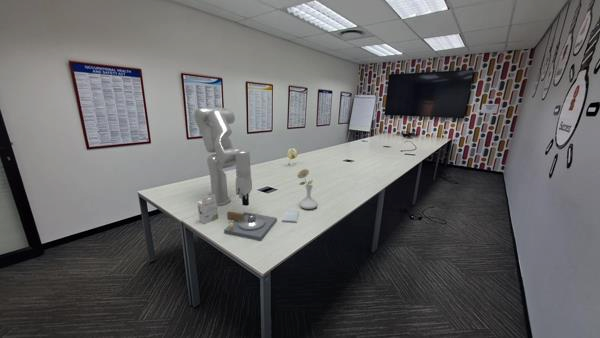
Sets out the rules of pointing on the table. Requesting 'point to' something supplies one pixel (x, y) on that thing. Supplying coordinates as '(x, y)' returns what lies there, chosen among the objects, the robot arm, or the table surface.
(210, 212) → the ink box
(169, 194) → the table surface
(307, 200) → the flower in vase
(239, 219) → the wooden handled frying pan
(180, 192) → the table surface
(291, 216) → the hard drive
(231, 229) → the base plate
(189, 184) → the table surface
